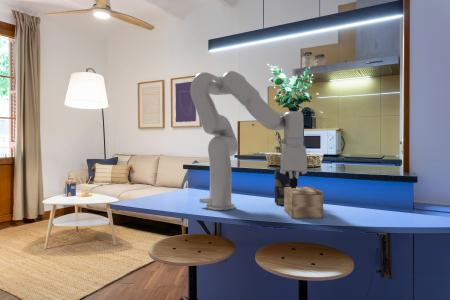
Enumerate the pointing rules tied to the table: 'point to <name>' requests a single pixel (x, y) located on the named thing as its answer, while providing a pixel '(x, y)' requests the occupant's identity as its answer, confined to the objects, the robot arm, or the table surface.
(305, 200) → the brown wooden box
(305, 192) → the lid
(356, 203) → the table surface
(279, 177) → the canister
